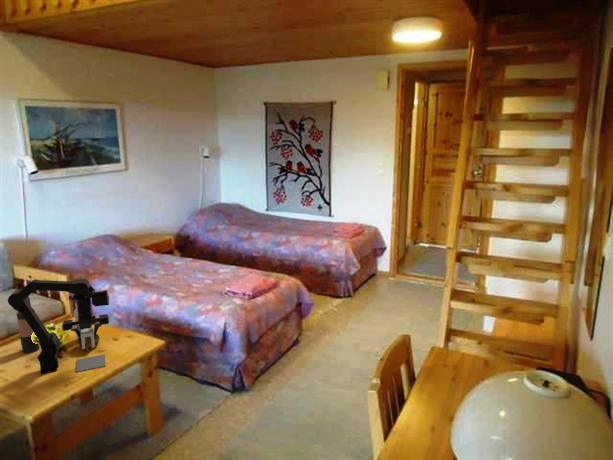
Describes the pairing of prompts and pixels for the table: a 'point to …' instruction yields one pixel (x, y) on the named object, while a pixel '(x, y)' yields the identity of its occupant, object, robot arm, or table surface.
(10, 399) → the table surface
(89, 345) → the painted clay ocarina
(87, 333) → the notched white block
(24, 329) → the travel mug
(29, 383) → the table surface
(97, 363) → the mat
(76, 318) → the plastic bottle
